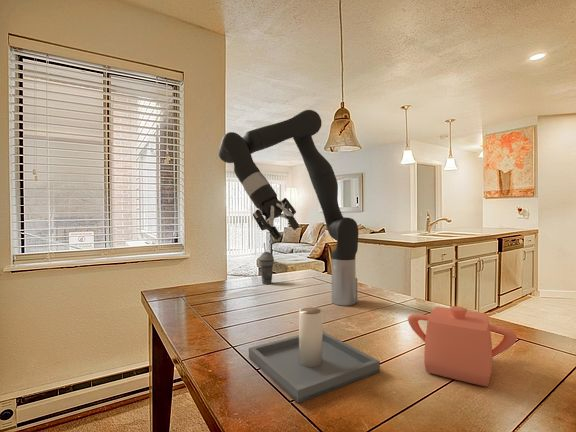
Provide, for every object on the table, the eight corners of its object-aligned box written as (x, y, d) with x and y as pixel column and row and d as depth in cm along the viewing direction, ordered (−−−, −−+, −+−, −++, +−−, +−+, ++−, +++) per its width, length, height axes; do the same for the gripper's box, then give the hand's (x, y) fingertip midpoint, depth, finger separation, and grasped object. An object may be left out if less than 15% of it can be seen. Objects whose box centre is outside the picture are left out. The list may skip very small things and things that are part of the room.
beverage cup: (272, 285, 154) (271, 243, 154) (257, 284, 156) (257, 243, 155) (275, 282, 162) (275, 242, 161) (261, 281, 163) (261, 242, 163)
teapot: (519, 399, 62) (520, 327, 62) (401, 369, 74) (401, 308, 73) (512, 358, 79) (513, 301, 78) (417, 339, 90) (417, 290, 90)
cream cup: (312, 353, 80) (312, 305, 79) (327, 362, 75) (327, 311, 74) (294, 359, 76) (294, 309, 76) (308, 369, 72) (308, 316, 71)
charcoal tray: (320, 338, 91) (320, 329, 91) (379, 372, 72) (379, 361, 72) (248, 357, 79) (248, 347, 79) (297, 403, 61) (297, 390, 61)
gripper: (248, 189, 92) (279, 236, 90) (280, 178, 102) (309, 220, 100) (237, 202, 98) (266, 247, 95) (268, 190, 108) (295, 230, 105)
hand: (288, 233), depth 98 cm, fingers open, 8 cm apart
